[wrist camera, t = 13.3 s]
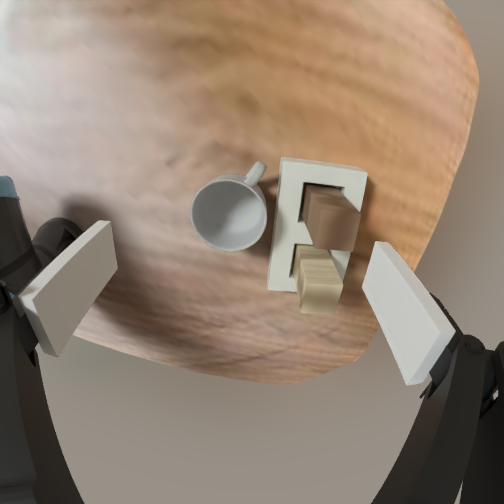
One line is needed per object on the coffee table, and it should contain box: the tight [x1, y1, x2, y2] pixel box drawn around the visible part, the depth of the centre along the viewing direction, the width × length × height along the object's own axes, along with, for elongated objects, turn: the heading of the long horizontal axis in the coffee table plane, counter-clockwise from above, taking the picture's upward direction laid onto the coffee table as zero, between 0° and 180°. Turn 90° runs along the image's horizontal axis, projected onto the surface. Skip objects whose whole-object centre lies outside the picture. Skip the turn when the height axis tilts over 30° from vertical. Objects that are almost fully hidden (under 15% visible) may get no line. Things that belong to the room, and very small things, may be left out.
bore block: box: [267, 157, 368, 292], centre depth 46 cm, size 13×22×4 cm, turn 176°
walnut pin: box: [300, 182, 362, 252], centre depth 39 cm, size 5×5×13 cm
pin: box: [292, 243, 343, 314], centre depth 43 cm, size 5×5×13 cm
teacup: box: [190, 161, 267, 252], centre depth 42 cm, size 14×11×8 cm
